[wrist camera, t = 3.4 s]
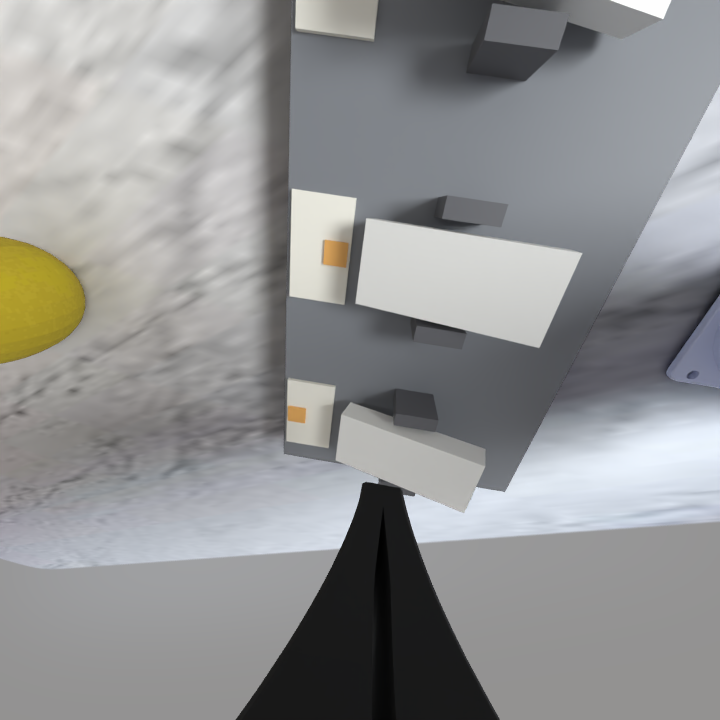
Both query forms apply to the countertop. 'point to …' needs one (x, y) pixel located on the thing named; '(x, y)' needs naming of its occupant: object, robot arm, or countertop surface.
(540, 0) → the switch
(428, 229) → the switch mid
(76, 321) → the lemon
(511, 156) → the switch panel
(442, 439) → the switch
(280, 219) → the countertop surface
